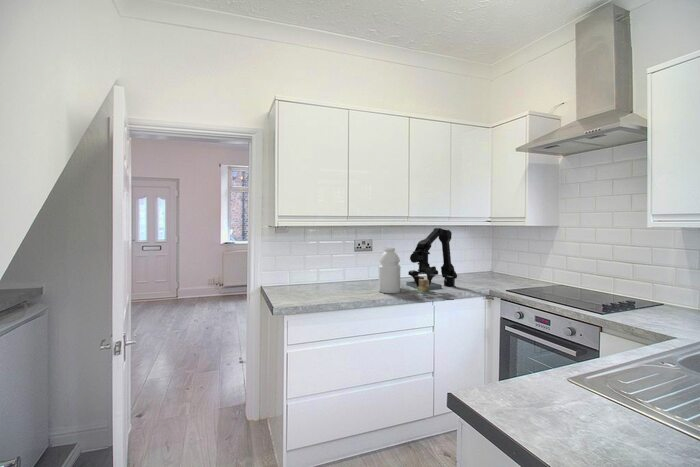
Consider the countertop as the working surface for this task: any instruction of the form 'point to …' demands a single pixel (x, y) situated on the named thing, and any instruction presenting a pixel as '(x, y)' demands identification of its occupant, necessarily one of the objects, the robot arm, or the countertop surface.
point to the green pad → (423, 292)
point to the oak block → (423, 285)
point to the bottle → (389, 272)
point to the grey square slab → (432, 286)
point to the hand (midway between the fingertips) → (423, 286)
